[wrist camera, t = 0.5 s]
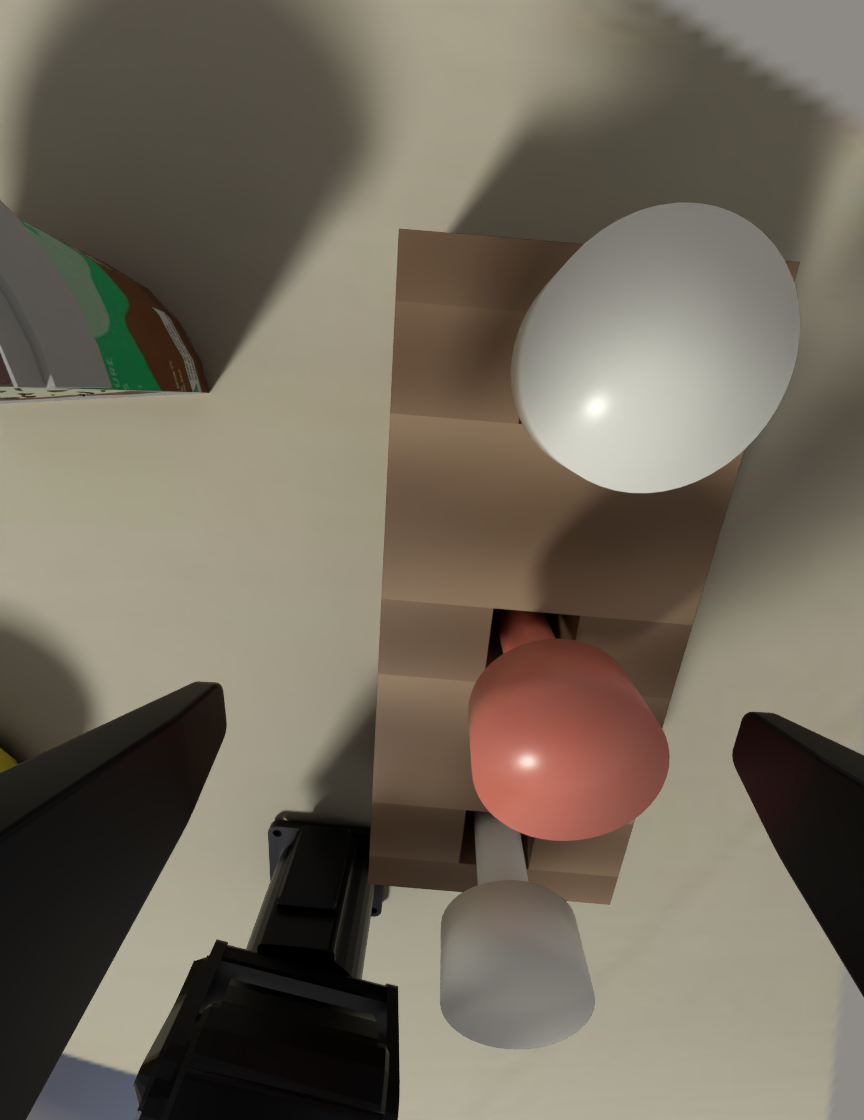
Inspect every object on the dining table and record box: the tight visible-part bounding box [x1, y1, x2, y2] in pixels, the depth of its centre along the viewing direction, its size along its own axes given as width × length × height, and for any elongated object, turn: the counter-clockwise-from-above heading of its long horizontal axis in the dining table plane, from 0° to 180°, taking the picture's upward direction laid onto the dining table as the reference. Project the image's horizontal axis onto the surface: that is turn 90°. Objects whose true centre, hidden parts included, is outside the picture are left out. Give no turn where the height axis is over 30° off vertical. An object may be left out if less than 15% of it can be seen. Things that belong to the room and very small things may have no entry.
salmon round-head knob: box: [468, 609, 669, 841], centre depth 14 cm, size 4×4×8 cm
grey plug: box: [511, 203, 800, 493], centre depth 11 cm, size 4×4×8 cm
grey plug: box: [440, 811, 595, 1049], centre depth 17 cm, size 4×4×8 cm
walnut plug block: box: [368, 229, 800, 905], centre depth 18 cm, size 23×10×6 cm, turn 175°
